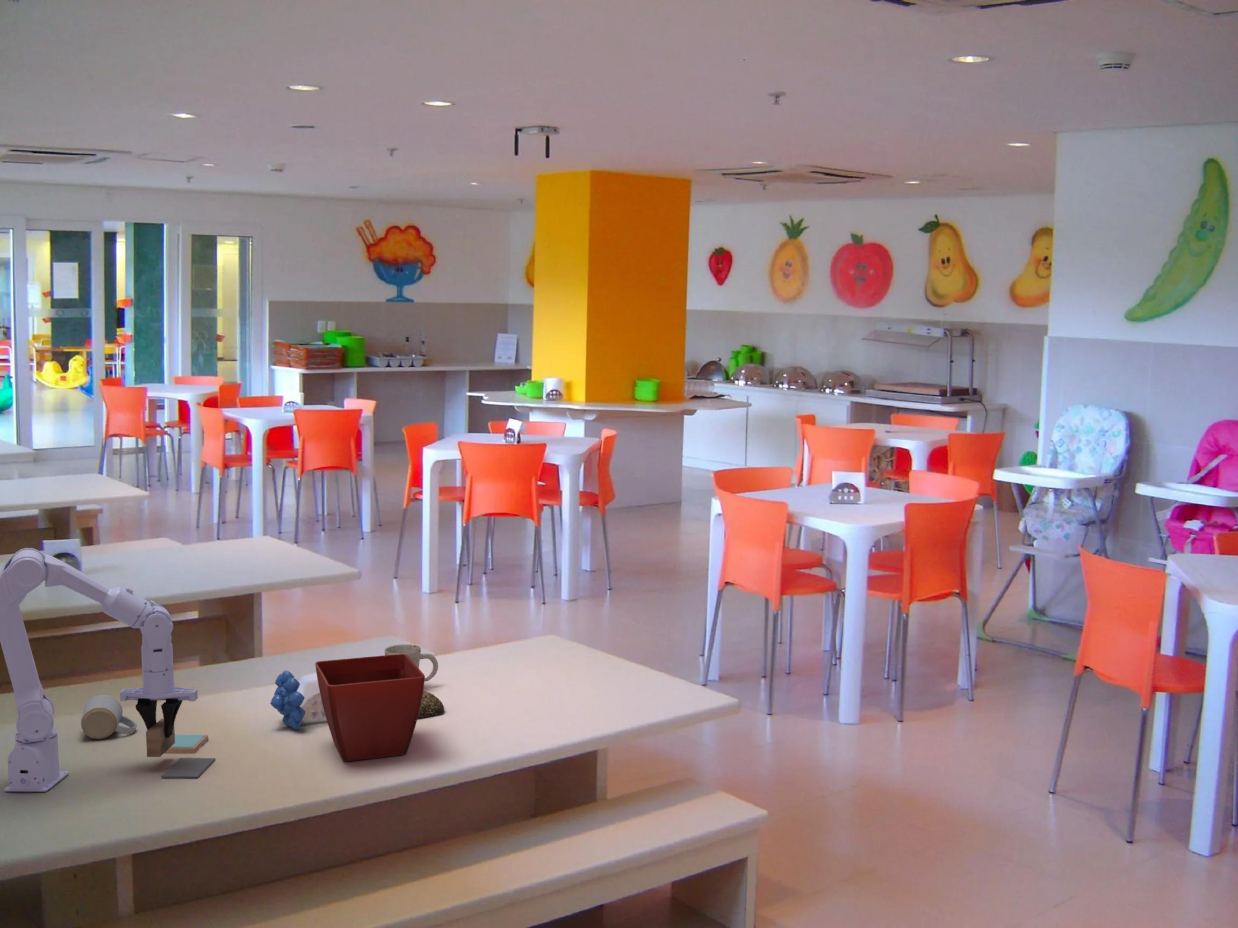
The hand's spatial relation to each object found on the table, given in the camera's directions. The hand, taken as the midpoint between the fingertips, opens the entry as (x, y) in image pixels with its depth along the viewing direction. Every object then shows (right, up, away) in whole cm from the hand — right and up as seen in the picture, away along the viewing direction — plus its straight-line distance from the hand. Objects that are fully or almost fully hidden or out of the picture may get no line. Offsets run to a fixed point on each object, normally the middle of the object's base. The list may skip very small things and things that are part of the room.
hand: (160, 735), depth 247 cm
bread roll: (+44, -2, +34) cm, 56 cm away
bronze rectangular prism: (0, -3, 0) cm, 3 cm away
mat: (+6, -6, -1) cm, 9 cm away
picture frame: (0, -5, +7) cm, 9 cm away
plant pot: (+39, -5, +10) cm, 41 cm away
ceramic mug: (-18, -4, +19) cm, 27 cm away
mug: (+41, 0, +51) cm, 65 cm away
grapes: (+18, -3, +23) cm, 30 cm away
